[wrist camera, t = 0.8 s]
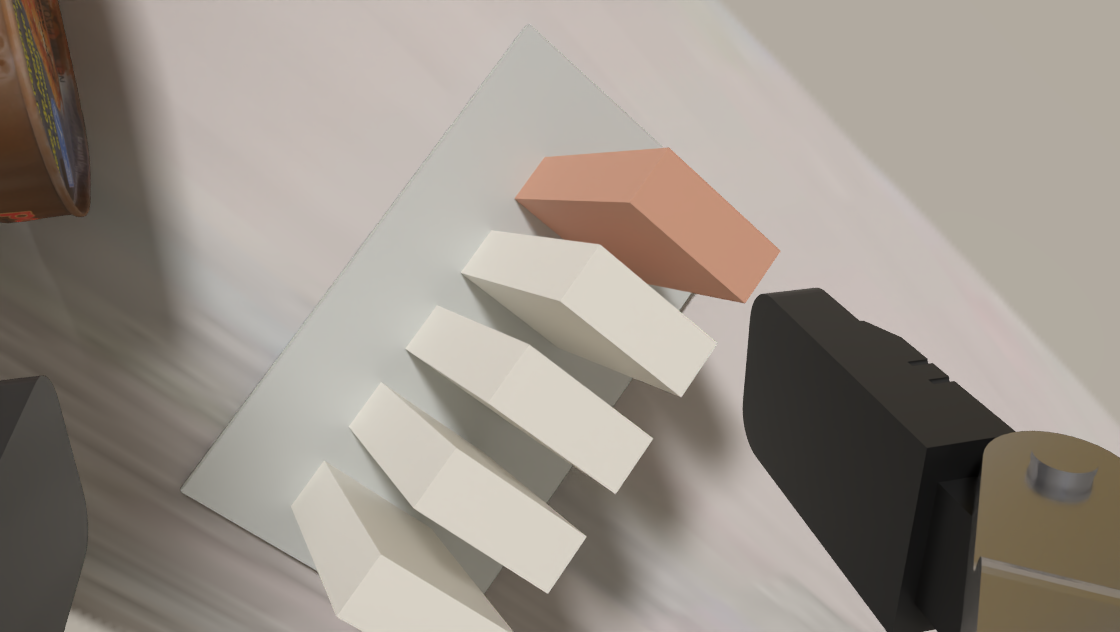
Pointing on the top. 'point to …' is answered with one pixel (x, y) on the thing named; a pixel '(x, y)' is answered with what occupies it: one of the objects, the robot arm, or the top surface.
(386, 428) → the domino
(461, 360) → the domino
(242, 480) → the mat
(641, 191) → the domino
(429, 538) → the domino
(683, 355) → the domino
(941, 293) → the top surface
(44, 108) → the tin
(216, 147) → the top surface
